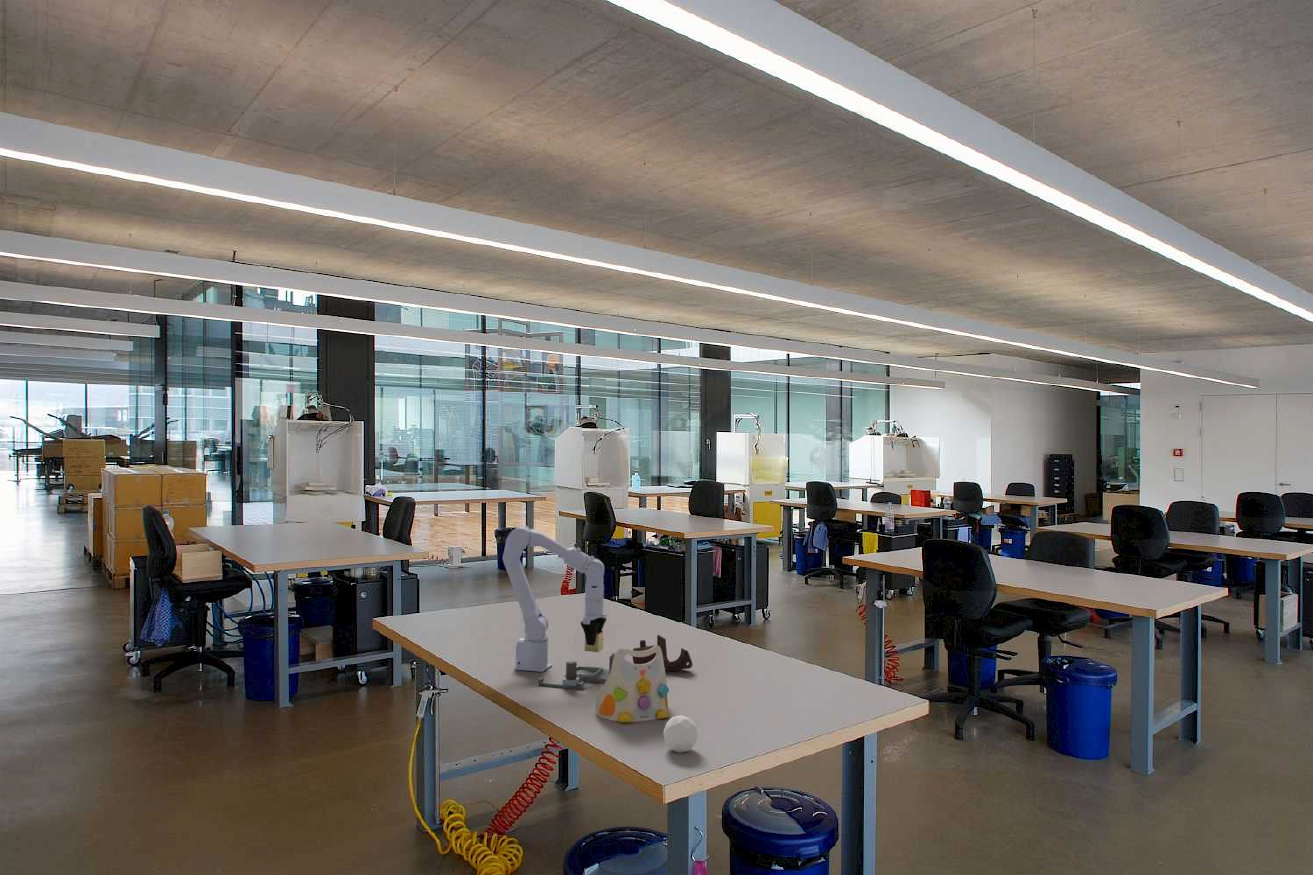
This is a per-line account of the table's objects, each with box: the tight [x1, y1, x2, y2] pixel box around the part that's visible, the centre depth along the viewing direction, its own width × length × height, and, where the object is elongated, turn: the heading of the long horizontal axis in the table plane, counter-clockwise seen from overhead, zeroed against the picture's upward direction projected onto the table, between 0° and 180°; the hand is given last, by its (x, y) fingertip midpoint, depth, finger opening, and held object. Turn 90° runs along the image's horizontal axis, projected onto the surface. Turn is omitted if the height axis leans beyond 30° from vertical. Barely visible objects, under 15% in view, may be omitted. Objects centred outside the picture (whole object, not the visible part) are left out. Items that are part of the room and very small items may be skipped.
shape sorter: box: [595, 646, 670, 723], centre depth 202 cm, size 20×10×18 cm, turn 113°
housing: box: [584, 630, 604, 653], centre depth 245 cm, size 4×4×7 cm
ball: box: [662, 714, 699, 754], centre depth 179 cm, size 8×8×8 cm
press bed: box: [564, 651, 617, 684], centre depth 236 cm, size 14×10×7 cm
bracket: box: [632, 634, 693, 672], centre depth 246 cm, size 6×18×11 cm, turn 76°
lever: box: [562, 660, 581, 686], centre depth 225 cm, size 4×3×6 cm
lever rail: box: [538, 677, 585, 690], centre depth 226 cm, size 13×2×2 cm, turn 75°
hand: (593, 642), depth 245 cm, fingers closed on housing, 4 cm apart
